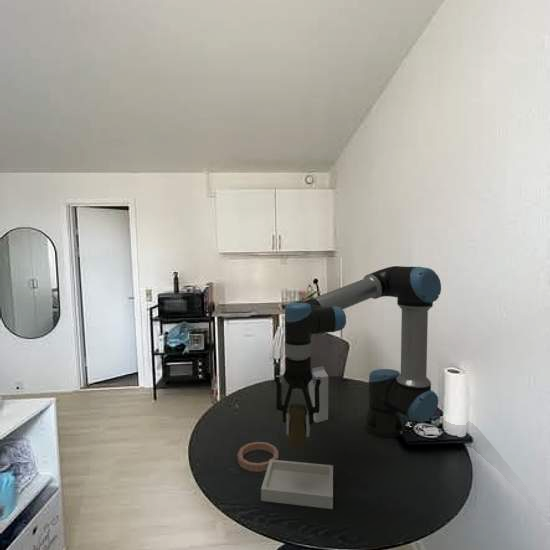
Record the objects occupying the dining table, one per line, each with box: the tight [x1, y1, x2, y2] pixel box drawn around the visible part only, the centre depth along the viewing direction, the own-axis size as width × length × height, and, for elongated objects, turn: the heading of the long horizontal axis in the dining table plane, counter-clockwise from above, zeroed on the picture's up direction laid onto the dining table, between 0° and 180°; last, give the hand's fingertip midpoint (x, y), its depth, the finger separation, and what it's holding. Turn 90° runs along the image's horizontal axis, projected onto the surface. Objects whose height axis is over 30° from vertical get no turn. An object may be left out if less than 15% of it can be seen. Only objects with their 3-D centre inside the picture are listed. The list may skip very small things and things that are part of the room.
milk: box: [308, 366, 329, 424], centre depth 144 cm, size 6×6×22 cm
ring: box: [237, 441, 279, 473], centre depth 116 cm, size 13×13×2 cm
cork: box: [287, 402, 309, 448], centre depth 101 cm, size 6×6×11 cm
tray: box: [260, 458, 334, 510], centre depth 102 cm, size 20×14×4 cm
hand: (298, 433), depth 101 cm, fingers closed on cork, 5 cm apart
